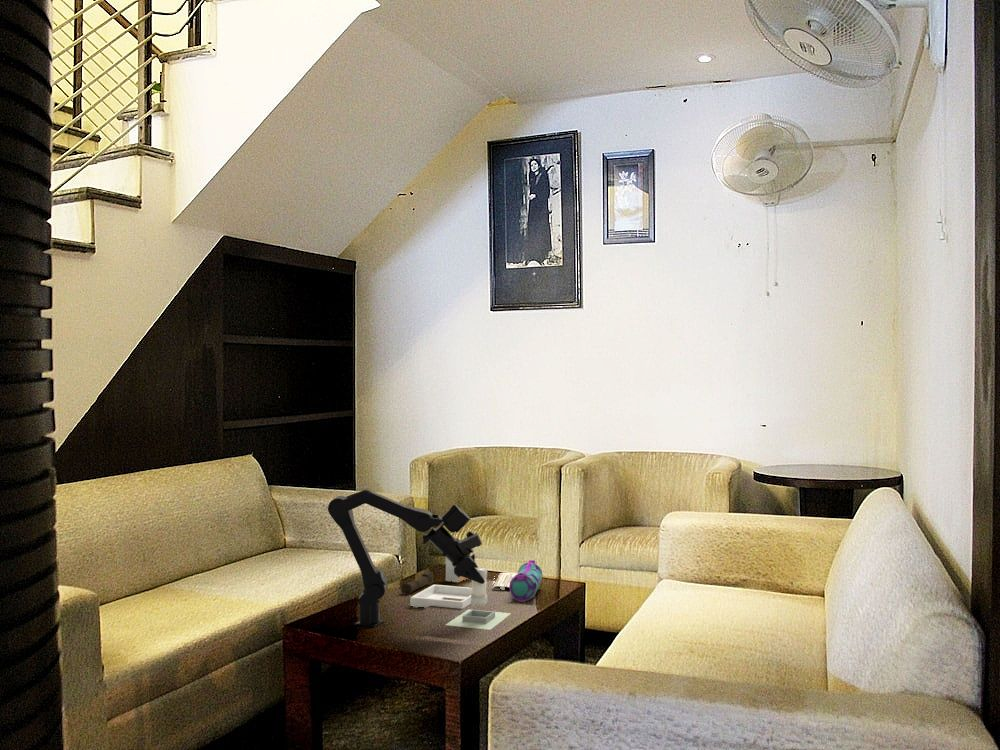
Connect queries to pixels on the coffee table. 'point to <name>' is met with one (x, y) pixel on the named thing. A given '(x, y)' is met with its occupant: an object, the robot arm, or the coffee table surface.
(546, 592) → the coffee table surface
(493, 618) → the green board with frame
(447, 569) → the small box
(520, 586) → the pencil case
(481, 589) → the white light bulb
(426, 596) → the parts tray
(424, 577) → the hand tool
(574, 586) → the coffee table surface
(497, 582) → the newspaper
